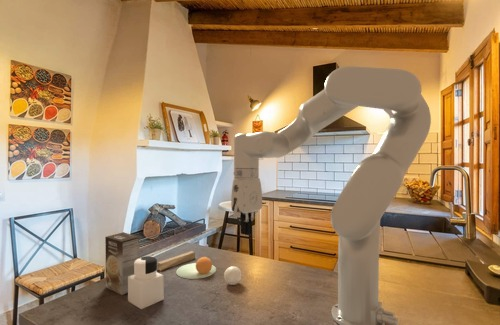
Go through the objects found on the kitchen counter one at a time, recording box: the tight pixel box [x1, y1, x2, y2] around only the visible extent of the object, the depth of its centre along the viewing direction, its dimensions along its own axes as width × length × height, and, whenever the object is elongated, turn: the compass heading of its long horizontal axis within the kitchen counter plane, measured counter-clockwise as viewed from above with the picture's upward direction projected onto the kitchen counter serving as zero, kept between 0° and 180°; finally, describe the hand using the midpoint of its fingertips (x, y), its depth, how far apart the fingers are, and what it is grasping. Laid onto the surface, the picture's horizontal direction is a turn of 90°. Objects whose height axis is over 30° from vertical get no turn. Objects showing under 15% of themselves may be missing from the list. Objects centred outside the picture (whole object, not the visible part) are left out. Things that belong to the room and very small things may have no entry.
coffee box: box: [105, 231, 140, 296], centre depth 89 cm, size 9×6×16 cm
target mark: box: [176, 262, 217, 280], centre depth 102 cm, size 14×14×1 cm
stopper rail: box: [157, 250, 196, 271], centre depth 109 cm, size 2×16×2 cm, turn 142°
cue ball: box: [223, 265, 243, 286], centre depth 91 cm, size 6×6×6 cm
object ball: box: [195, 256, 213, 274], centre depth 100 cm, size 6×6×6 cm
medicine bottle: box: [127, 255, 165, 310], centre depth 81 cm, size 7×7×12 cm
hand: (246, 233), depth 88 cm, fingers closed
